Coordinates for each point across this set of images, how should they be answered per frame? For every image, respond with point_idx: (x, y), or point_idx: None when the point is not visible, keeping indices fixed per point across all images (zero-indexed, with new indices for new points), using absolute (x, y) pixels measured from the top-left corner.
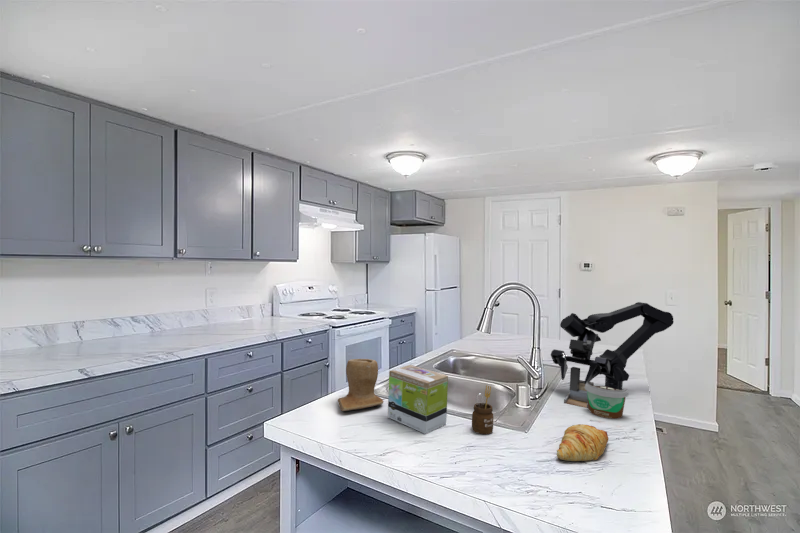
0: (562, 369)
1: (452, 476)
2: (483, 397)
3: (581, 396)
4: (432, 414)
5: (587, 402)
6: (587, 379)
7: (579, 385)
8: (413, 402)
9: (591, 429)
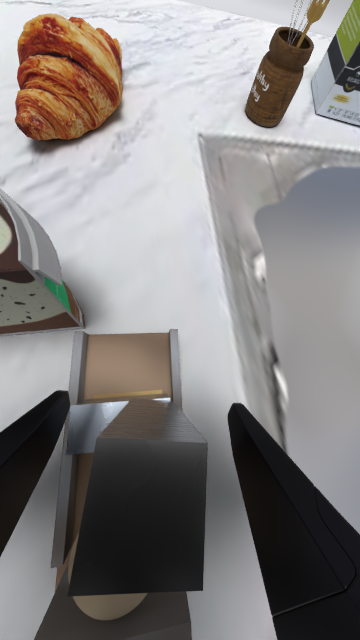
0: (295, 479)
1: (221, 21)
2: None
3: (112, 399)
4: (336, 44)
5: None
6: (22, 416)
7: None
8: None
9: (41, 15)
